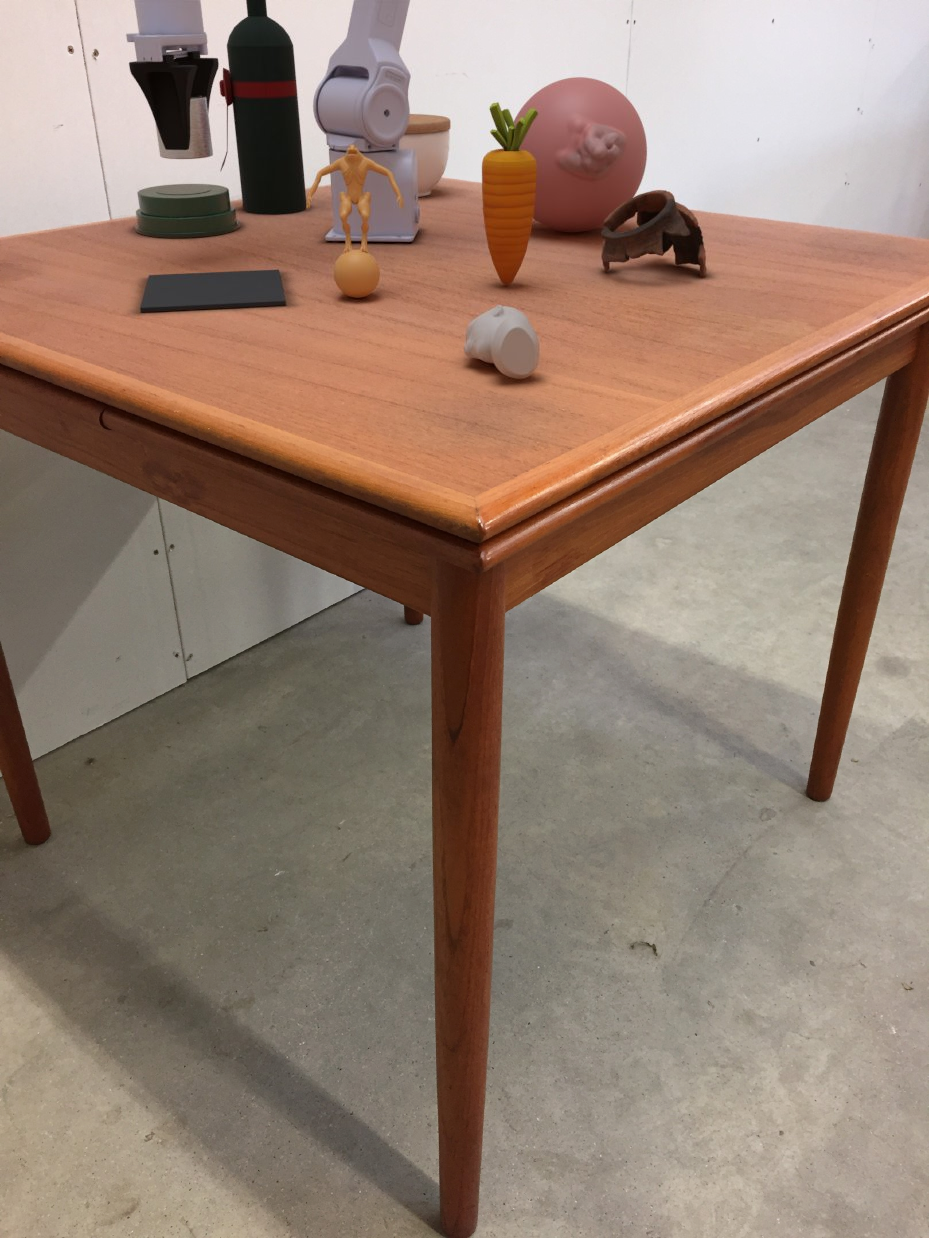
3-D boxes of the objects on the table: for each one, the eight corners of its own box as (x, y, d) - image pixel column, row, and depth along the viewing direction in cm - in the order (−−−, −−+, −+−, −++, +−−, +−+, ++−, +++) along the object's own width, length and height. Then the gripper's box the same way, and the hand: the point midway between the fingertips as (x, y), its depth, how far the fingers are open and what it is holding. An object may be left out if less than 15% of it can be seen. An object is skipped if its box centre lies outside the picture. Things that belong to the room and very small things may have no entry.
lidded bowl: (346, 200, 132) (341, 105, 126) (370, 185, 142) (366, 97, 136) (441, 202, 130) (440, 107, 124) (458, 187, 140) (457, 99, 135)
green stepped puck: (250, 219, 120) (246, 182, 117) (225, 239, 110) (220, 199, 108) (154, 218, 120) (149, 181, 118) (120, 237, 110) (114, 198, 108)
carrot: (539, 282, 93) (547, 100, 85) (525, 294, 89) (531, 105, 81) (489, 277, 95) (491, 99, 87) (472, 290, 91) (472, 103, 83)
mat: (279, 273, 96) (278, 269, 96) (286, 305, 86) (285, 300, 86) (149, 279, 94) (148, 275, 93) (140, 312, 84) (139, 307, 83)
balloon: (513, 254, 103) (517, 85, 95) (498, 219, 120) (501, 73, 112) (661, 253, 104) (678, 85, 96) (626, 218, 121) (638, 73, 113)
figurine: (307, 302, 87) (295, 150, 80) (316, 286, 92) (305, 141, 85) (404, 303, 87) (399, 150, 80) (407, 286, 92) (403, 141, 85)
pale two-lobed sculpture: (468, 366, 75) (533, 344, 75) (479, 400, 68) (551, 375, 68) (450, 310, 73) (517, 287, 73) (460, 339, 66) (534, 314, 66)
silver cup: (219, 153, 98) (212, 94, 95) (204, 159, 93) (197, 98, 91) (169, 152, 98) (161, 94, 95) (153, 159, 94) (144, 98, 91)
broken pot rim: (719, 289, 93) (689, 211, 88) (623, 329, 96) (589, 256, 91) (706, 230, 101) (679, 155, 96) (618, 269, 105) (587, 198, 99)
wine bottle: (224, 205, 128) (191, -81, 112) (304, 202, 130) (283, -80, 114) (224, 216, 122) (188, -86, 106) (308, 213, 123) (286, -85, 108)
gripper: (147, -23, 94) (169, 137, 102) (87, -27, 82) (117, 155, 89) (221, -23, 94) (237, 137, 101) (172, -27, 82) (195, 156, 89)
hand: (186, 146), depth 95 cm, fingers closed on silver cup, 5 cm apart
